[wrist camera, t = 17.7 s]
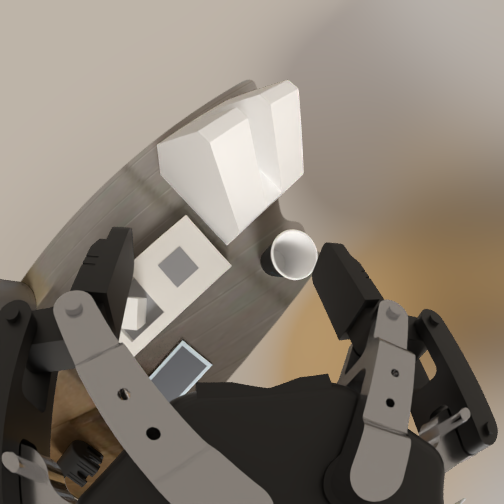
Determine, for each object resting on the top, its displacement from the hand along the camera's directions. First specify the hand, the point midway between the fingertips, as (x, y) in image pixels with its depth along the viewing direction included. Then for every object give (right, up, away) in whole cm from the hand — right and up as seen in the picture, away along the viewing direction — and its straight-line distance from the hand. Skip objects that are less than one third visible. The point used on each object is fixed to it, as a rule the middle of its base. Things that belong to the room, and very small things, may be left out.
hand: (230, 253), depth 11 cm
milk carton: (-5, +13, +42) cm, 44 cm away
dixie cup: (+5, -2, +42) cm, 42 cm away
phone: (-14, -23, +34) cm, 43 cm away
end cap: (-35, -43, +24) cm, 61 cm away
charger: (-20, -10, +33) cm, 40 cm away
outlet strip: (-16, -6, +35) cm, 39 cm away
